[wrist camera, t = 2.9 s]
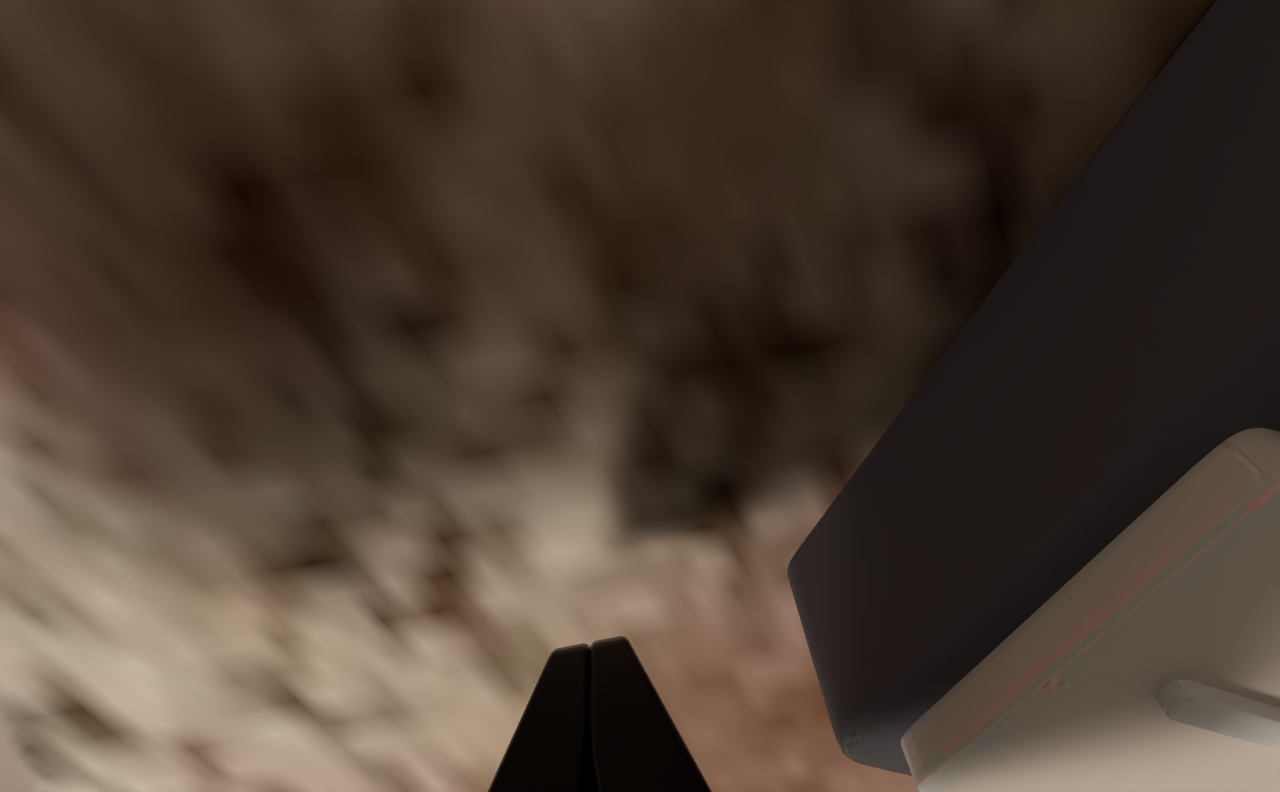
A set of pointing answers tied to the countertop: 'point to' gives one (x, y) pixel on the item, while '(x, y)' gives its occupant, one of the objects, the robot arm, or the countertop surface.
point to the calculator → (1088, 480)
